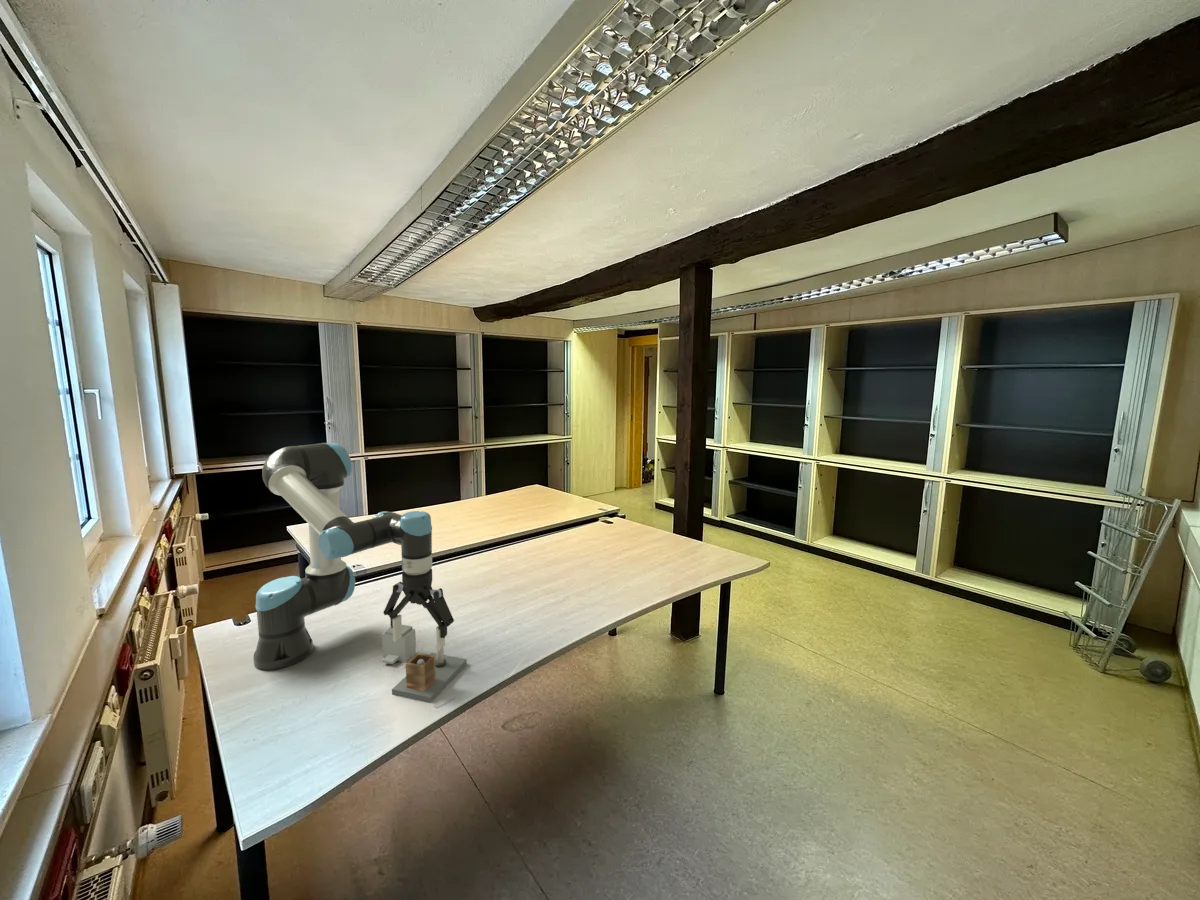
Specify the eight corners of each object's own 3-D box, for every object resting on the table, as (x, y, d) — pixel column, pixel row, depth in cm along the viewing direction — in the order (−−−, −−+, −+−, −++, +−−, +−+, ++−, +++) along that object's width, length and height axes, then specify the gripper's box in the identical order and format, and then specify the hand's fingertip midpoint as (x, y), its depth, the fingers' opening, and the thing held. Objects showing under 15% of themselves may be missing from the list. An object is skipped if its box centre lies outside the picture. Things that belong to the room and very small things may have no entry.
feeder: (376, 663, 139) (374, 636, 138) (394, 649, 146) (393, 623, 145) (398, 668, 137) (397, 640, 136) (416, 653, 144) (415, 626, 143)
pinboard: (392, 694, 125) (390, 665, 124) (431, 657, 142) (431, 631, 141) (430, 702, 122) (429, 672, 121) (466, 663, 139) (466, 637, 138)
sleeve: (406, 687, 126) (405, 663, 125) (419, 675, 131) (418, 652, 130) (423, 691, 124) (423, 667, 123) (435, 679, 130) (435, 655, 129)
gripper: (367, 568, 123) (370, 642, 126) (450, 582, 117) (451, 659, 120) (387, 558, 130) (389, 628, 133) (466, 570, 124) (466, 643, 127)
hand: (418, 643), depth 126 cm, fingers open, 13 cm apart
